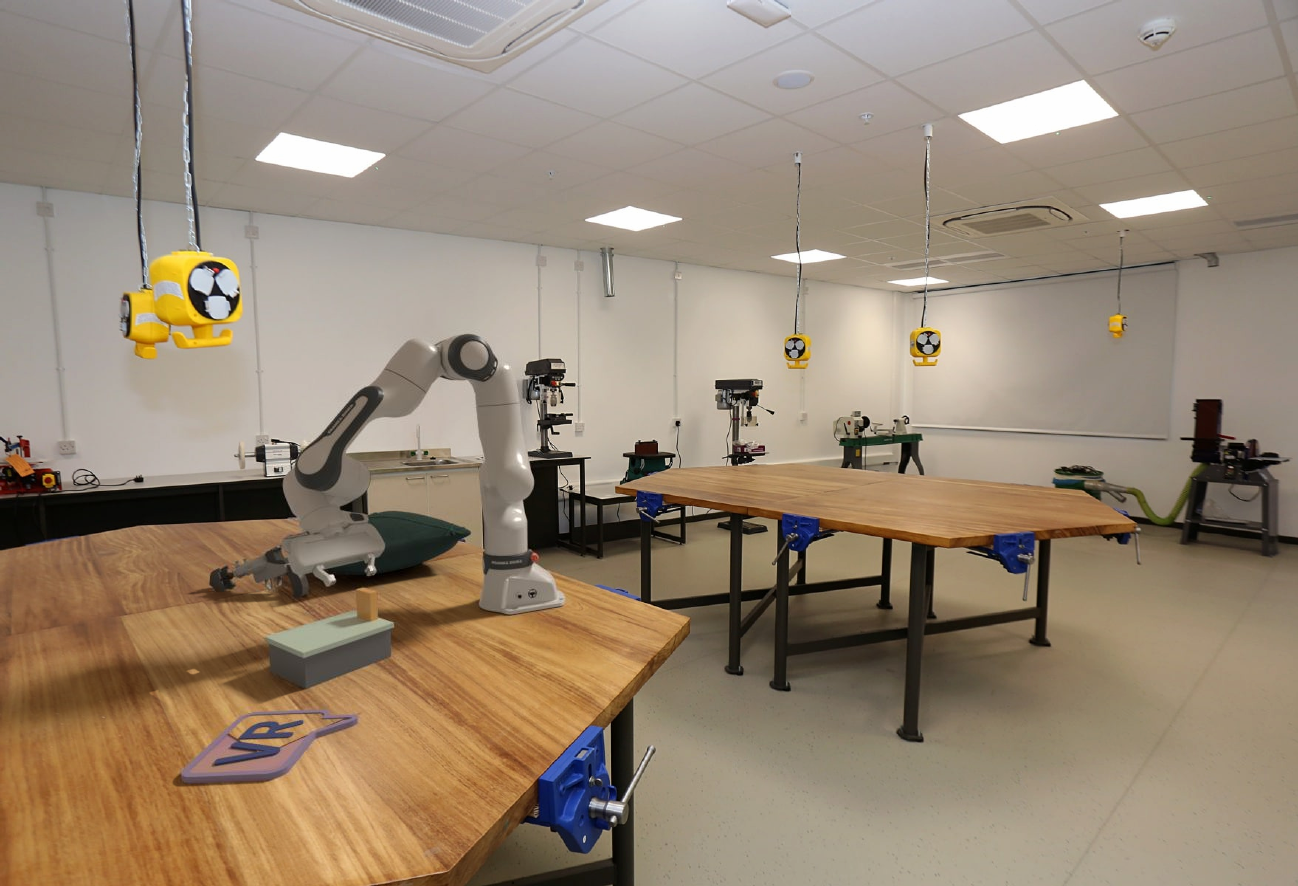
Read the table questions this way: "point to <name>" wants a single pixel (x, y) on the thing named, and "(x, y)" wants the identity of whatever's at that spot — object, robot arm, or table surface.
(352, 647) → the tub
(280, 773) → the icon
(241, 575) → the grey mechanical piece
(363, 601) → the lid
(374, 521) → the pillow
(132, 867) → the table surface
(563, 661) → the table surface
